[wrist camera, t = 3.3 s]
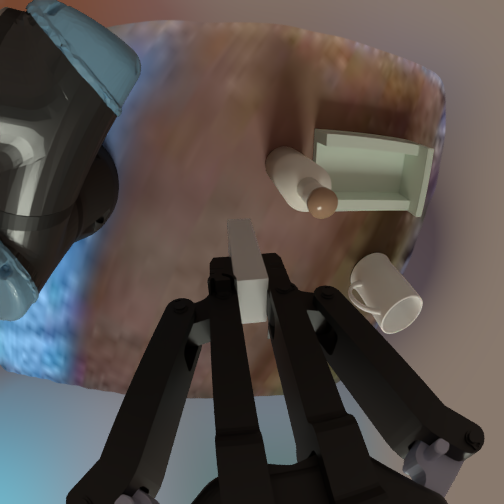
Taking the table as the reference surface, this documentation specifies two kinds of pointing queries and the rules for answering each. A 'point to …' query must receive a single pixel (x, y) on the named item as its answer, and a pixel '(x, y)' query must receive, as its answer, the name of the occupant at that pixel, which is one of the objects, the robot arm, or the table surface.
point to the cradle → (374, 170)
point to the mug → (384, 293)
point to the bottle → (301, 182)
